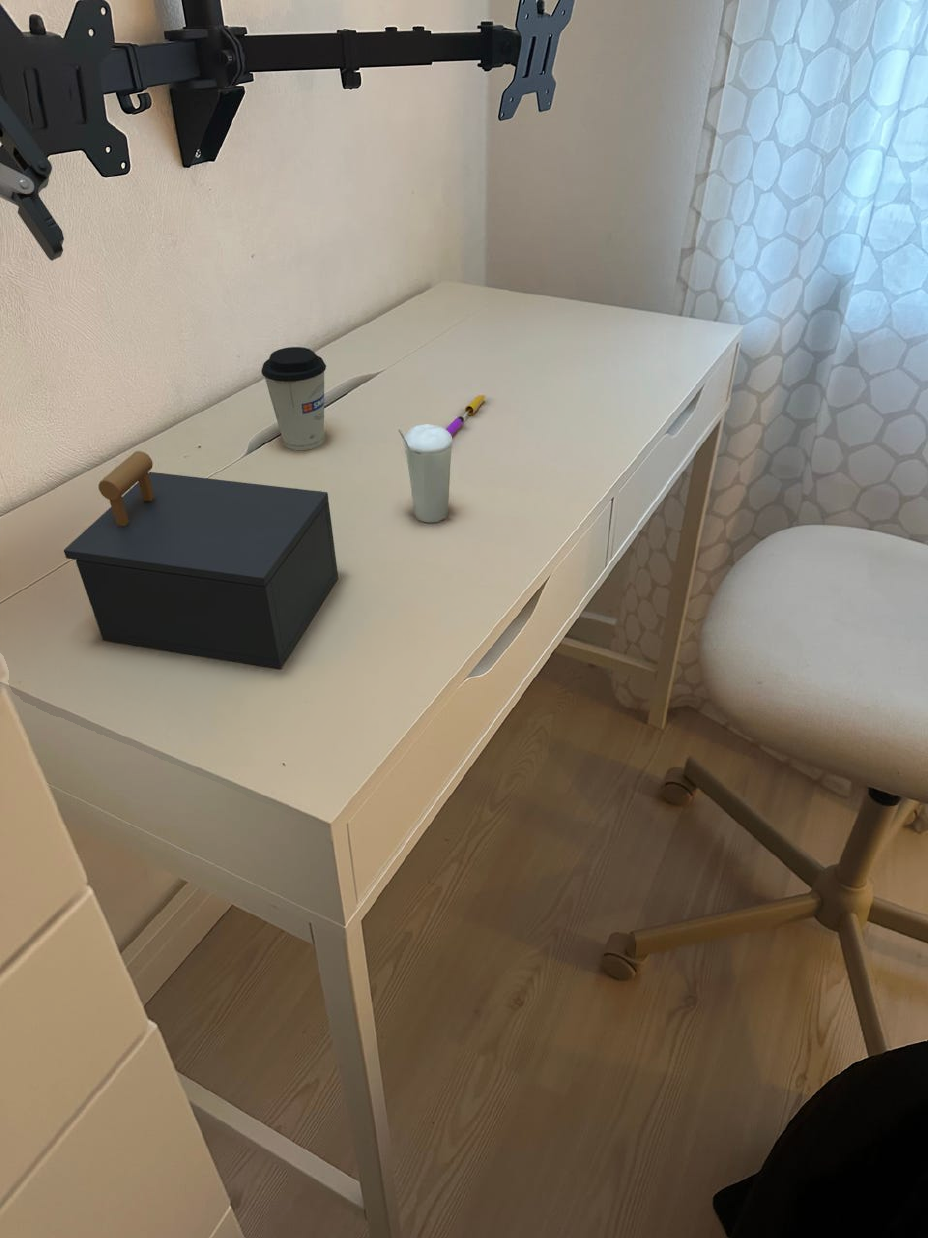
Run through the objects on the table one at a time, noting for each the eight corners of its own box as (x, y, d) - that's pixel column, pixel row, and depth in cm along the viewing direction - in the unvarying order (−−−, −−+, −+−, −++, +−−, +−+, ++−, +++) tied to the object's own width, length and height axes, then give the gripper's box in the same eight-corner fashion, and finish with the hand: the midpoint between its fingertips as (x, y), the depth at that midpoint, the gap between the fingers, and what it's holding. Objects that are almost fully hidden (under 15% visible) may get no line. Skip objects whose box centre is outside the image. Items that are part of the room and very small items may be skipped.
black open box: (102, 640, 73) (75, 560, 68) (179, 556, 83) (160, 480, 78) (280, 669, 70) (265, 587, 65) (338, 577, 80) (328, 500, 75)
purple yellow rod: (436, 456, 97) (488, 400, 109) (433, 446, 97) (486, 390, 108) (414, 458, 98) (468, 402, 110) (412, 448, 98) (466, 392, 110)
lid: (65, 558, 69) (46, 502, 66) (151, 479, 78) (137, 426, 75) (265, 586, 65) (254, 528, 62) (328, 500, 75) (322, 446, 72)
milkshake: (392, 515, 88) (385, 421, 82) (436, 498, 91) (432, 405, 85) (418, 534, 85) (413, 438, 79) (463, 516, 88) (461, 422, 82)
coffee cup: (260, 448, 100) (245, 361, 94) (295, 423, 105) (283, 339, 99) (313, 459, 98) (301, 371, 92) (346, 433, 103) (337, 348, 97)
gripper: (-303, 43, 49) (-101, 312, 54) (-61, -31, 55) (102, 218, 60) (-276, 107, 56) (-97, 343, 61) (-61, 35, 62) (86, 255, 67)
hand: (1, 281), depth 61 cm, fingers open, 8 cm apart
